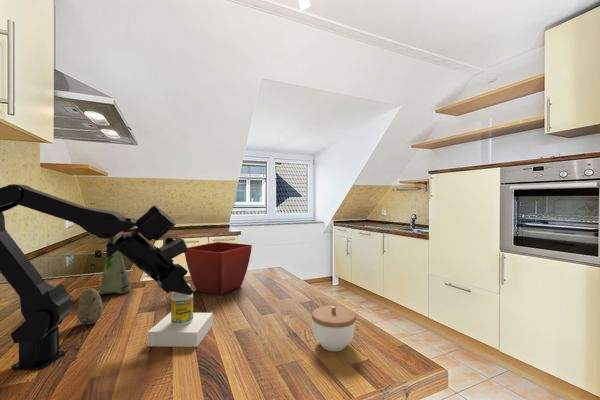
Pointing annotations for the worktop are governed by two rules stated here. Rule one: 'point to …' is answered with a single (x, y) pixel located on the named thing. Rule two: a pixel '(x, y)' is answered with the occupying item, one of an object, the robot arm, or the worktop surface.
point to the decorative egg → (89, 307)
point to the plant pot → (218, 266)
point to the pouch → (114, 274)
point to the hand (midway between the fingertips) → (188, 290)
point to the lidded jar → (333, 327)
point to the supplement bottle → (181, 309)
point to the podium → (180, 331)
